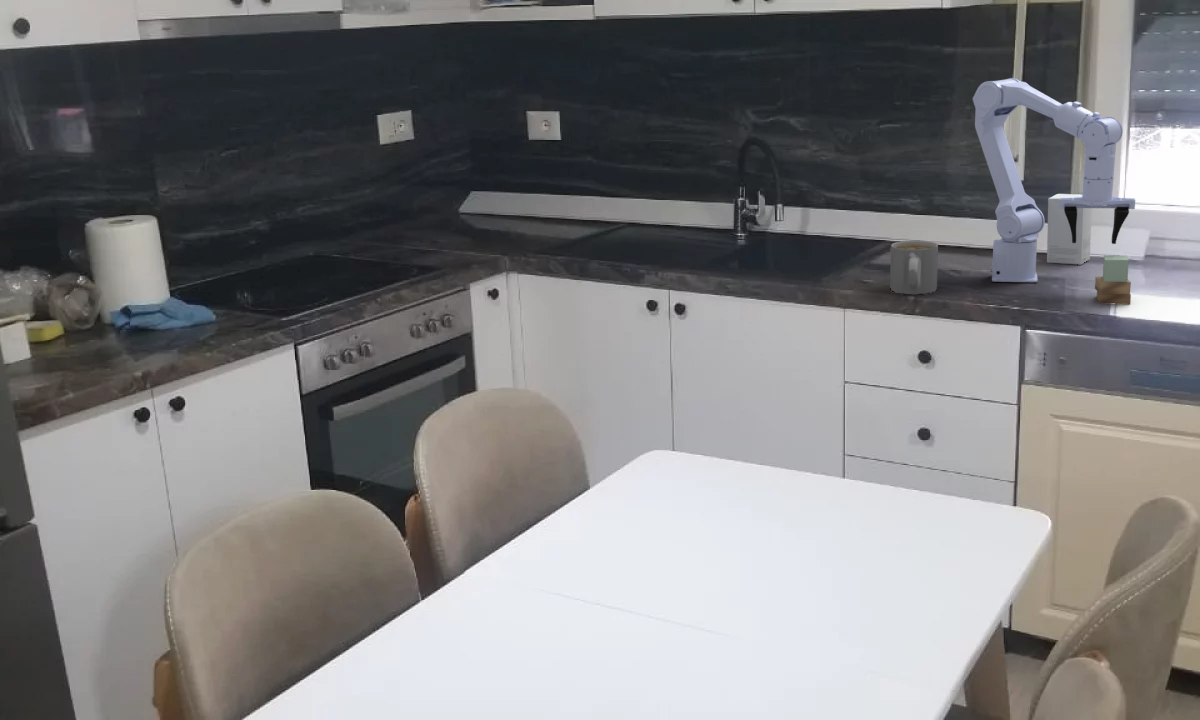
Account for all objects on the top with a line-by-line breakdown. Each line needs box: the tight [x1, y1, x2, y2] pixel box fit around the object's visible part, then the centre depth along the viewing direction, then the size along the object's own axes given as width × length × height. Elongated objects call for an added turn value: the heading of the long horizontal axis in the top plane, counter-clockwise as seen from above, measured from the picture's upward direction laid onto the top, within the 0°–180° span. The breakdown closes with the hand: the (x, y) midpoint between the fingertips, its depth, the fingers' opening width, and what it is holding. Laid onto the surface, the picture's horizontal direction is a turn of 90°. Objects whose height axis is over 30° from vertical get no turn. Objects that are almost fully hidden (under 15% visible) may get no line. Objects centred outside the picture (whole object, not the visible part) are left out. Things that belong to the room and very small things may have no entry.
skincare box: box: [1046, 193, 1092, 266], centre depth 274 cm, size 8×7×16 cm
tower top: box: [1094, 276, 1132, 295], centre depth 240 cm, size 6×6×2 cm
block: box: [1102, 255, 1130, 282], centre depth 239 cm, size 4×4×4 cm
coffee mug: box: [889, 240, 939, 294], centre depth 256 cm, size 13×10×10 cm
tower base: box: [1096, 290, 1132, 305], centre depth 241 cm, size 6×6×2 cm
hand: (1093, 242), depth 247 cm, fingers open, 7 cm apart
